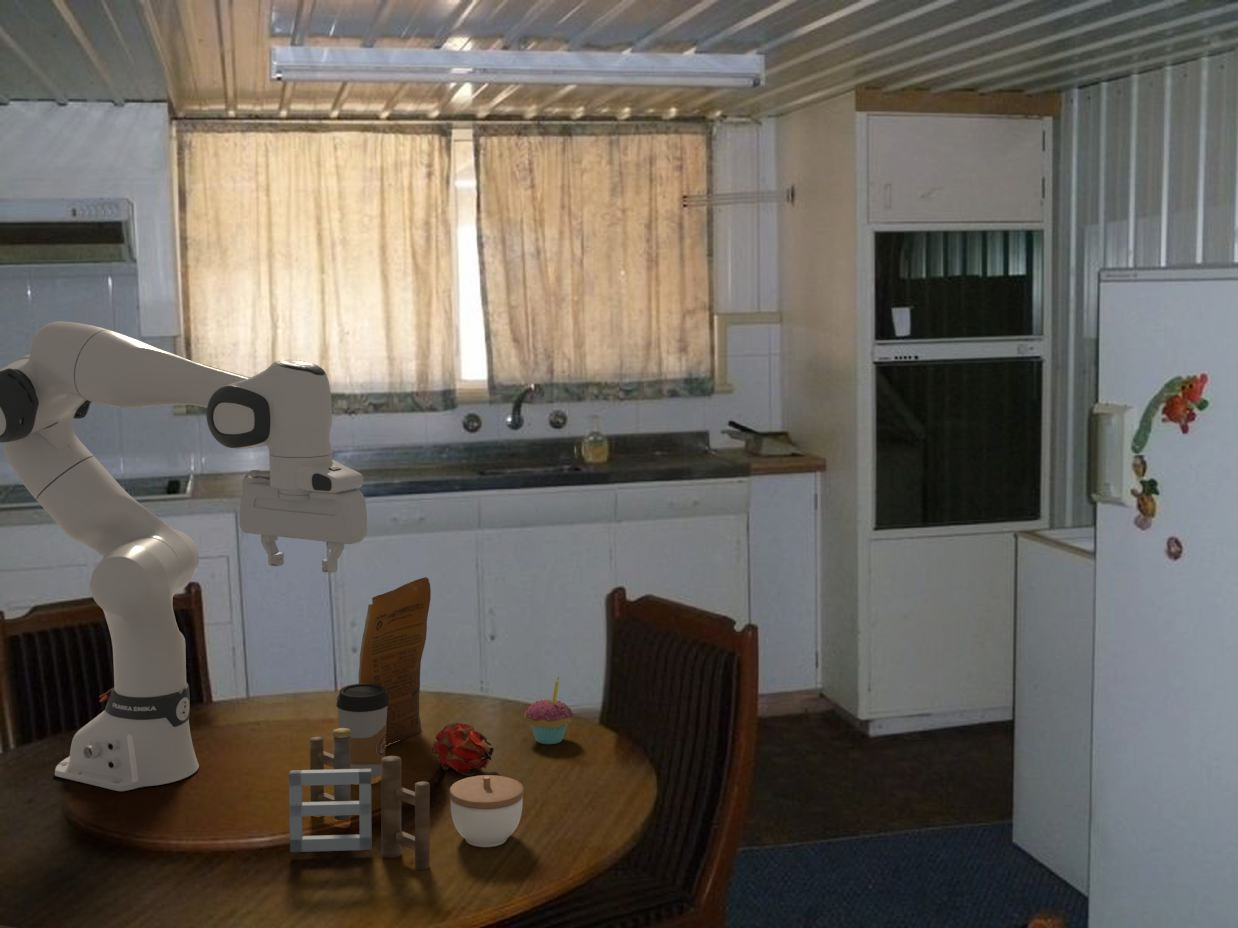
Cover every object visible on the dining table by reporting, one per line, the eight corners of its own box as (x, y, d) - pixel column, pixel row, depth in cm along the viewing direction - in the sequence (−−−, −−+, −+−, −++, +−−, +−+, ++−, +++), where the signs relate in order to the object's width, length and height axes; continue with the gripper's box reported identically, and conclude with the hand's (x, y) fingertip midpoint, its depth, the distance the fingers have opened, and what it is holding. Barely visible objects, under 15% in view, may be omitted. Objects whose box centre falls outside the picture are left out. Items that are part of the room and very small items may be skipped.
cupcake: (581, 738, 242) (582, 673, 241) (554, 751, 235) (555, 684, 234) (542, 728, 247) (543, 664, 245) (514, 741, 240) (514, 675, 238)
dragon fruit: (438, 767, 231) (487, 795, 224) (411, 750, 225) (460, 778, 217) (464, 723, 233) (514, 749, 226) (437, 705, 227) (487, 731, 220)
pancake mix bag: (443, 728, 246) (443, 577, 242) (371, 758, 230) (370, 597, 226) (414, 721, 250) (414, 572, 246) (341, 750, 233) (340, 591, 230)
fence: (294, 820, 204) (293, 726, 202) (320, 810, 208) (318, 718, 206) (419, 871, 187) (419, 770, 185) (444, 860, 191) (445, 761, 189)
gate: (371, 845, 193) (371, 768, 191) (371, 849, 192) (370, 771, 190) (291, 848, 192) (290, 770, 190) (290, 851, 191) (289, 773, 189)
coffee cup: (377, 791, 216) (377, 699, 214) (328, 786, 218) (327, 695, 215) (396, 772, 224) (396, 684, 222) (349, 767, 226) (348, 680, 224)
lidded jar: (493, 860, 192) (494, 796, 190) (434, 842, 197) (434, 780, 196) (537, 834, 201) (538, 773, 199) (479, 818, 206) (480, 758, 205)
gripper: (228, 471, 196) (230, 565, 198) (347, 481, 188) (348, 579, 190) (256, 466, 202) (258, 557, 204) (372, 476, 194) (373, 571, 196)
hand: (302, 568), depth 197 cm, fingers open, 8 cm apart
